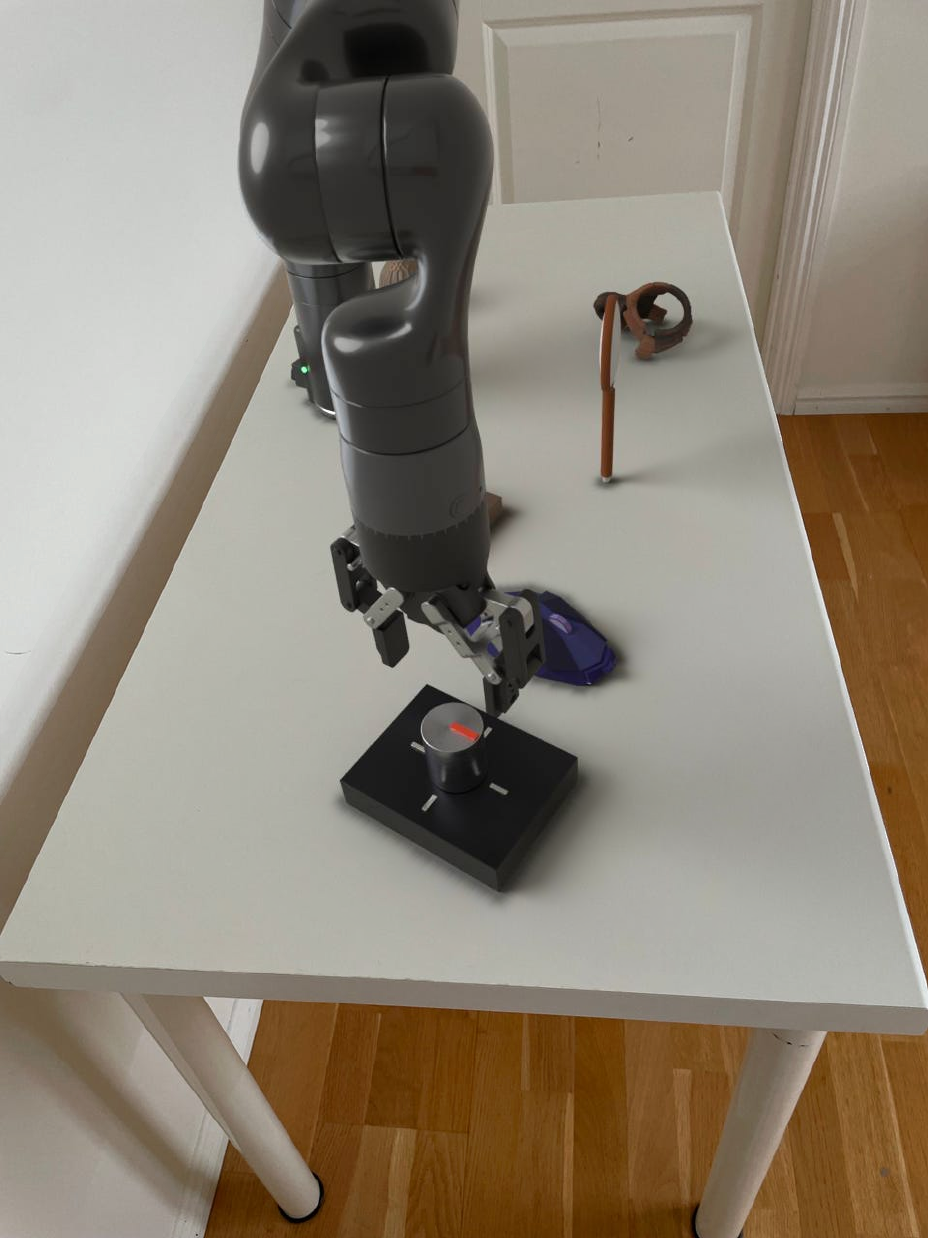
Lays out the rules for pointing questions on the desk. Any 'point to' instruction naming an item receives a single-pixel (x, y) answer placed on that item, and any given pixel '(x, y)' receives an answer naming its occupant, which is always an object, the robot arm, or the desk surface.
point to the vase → (396, 271)
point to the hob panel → (469, 821)
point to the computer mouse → (566, 643)
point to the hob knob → (455, 747)
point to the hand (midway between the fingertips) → (446, 682)
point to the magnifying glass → (609, 380)
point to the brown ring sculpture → (649, 316)
